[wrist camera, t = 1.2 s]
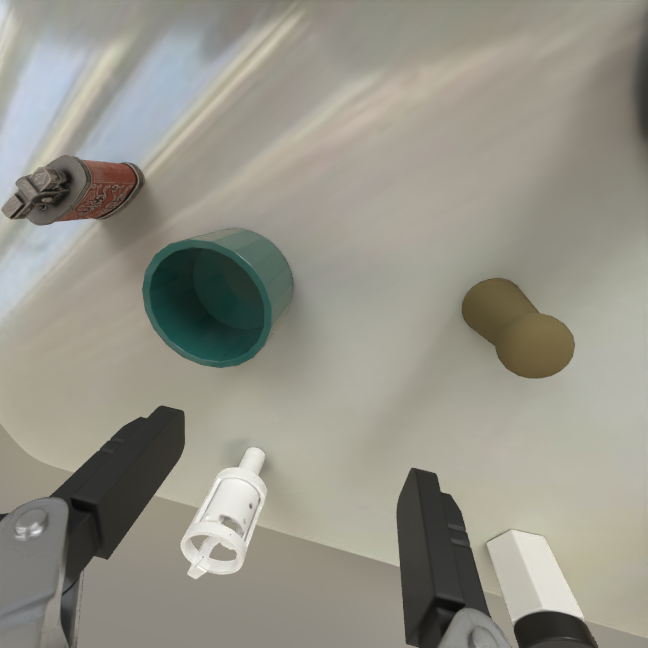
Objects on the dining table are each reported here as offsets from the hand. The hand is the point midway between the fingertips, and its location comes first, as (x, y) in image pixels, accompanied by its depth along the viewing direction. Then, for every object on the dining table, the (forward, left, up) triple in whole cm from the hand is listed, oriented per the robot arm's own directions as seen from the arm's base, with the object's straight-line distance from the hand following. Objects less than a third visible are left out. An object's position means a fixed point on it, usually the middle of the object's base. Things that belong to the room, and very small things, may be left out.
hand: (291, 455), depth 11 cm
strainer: (+23, -20, -26) cm, 40 cm away
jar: (+46, +14, -26) cm, 54 cm away
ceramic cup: (-2, -12, -25) cm, 28 cm away
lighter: (-15, -22, -26) cm, 37 cm away
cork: (+7, +14, -26) cm, 30 cm away
